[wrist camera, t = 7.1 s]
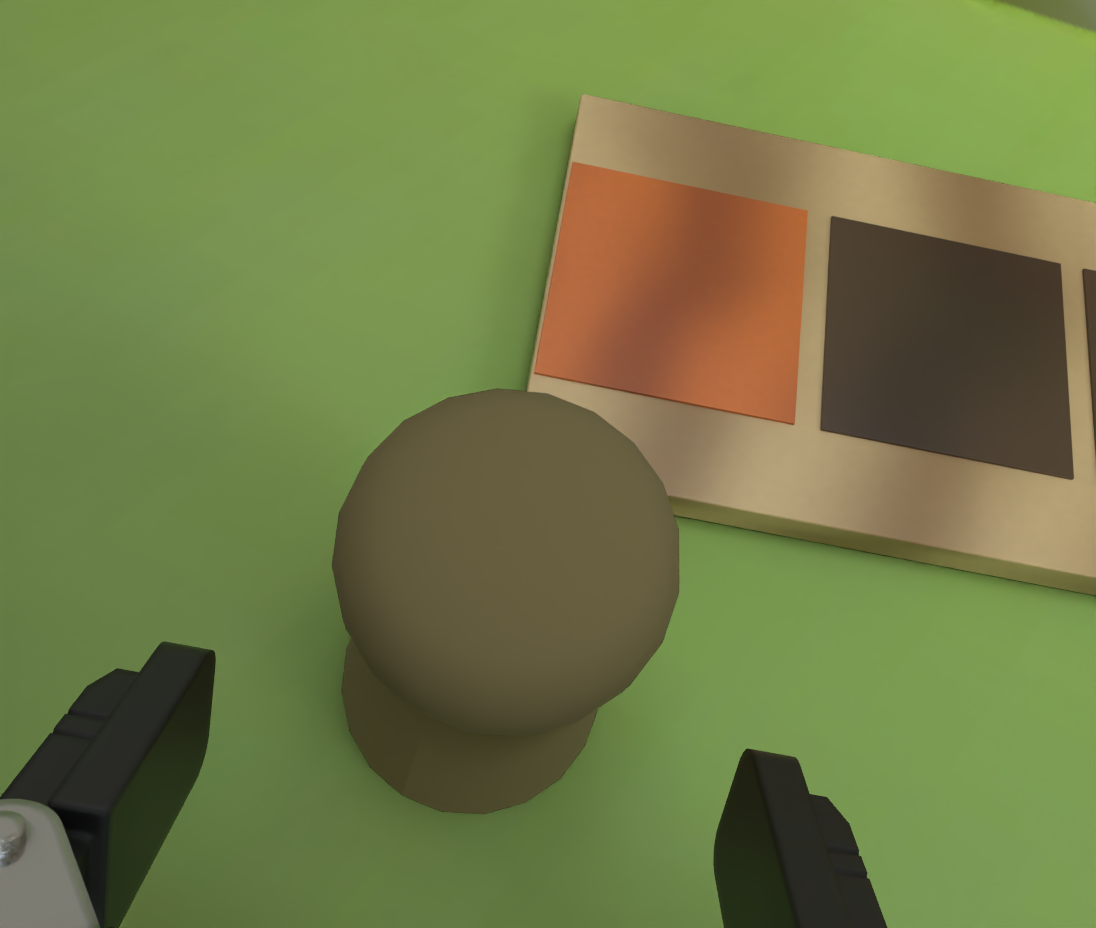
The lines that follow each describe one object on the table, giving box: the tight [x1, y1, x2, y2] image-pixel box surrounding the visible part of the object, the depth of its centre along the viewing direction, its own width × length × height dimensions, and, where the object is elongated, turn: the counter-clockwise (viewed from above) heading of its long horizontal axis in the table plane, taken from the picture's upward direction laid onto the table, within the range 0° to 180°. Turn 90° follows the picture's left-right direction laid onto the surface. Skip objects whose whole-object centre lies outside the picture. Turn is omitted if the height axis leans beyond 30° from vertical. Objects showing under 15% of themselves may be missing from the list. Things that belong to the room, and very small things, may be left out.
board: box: [526, 94, 1096, 595], centre depth 28 cm, size 22×12×1 cm, turn 82°
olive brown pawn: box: [332, 388, 679, 814], centre depth 19 cm, size 6×6×11 cm
